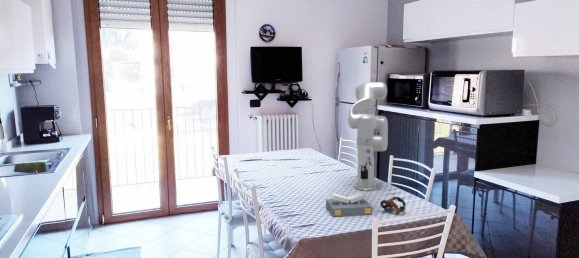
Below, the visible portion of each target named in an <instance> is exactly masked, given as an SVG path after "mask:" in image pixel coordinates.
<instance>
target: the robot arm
mask: <svg viewBox="0 0 579 258" xmlns="http://www.w3.org/2000/svg"><path fill="white" fill-rule="evenodd" d="M387 95H388V87H387V84H386V83H385V82H382V81H365V82H363V83H361V84H360V85H357V86H355V97H356V98H355V99H356V100H357V101H355V103H353V105H351V106H350V108H349V110H348V119H347V123H348V126H349V128H350V129H353V130H356V149H357V174H356V175H357V179H356V180H357V183H355V184H354V189H357V190H360V191H363V192H365V191H374V190H376V189H377V185H383V181H381V180H375V157H374V152H385V151H387V149H388V145H389V144H388V143H389V142H388V141H389V139H388V137H389V134H388V133H389V124H388V122H389V121H388V119H387V117H386V116H385V115H384V116H383V115H376V114H375V112H376V109H375V104H376V100H385V99H386V97H387ZM374 133H378V134H374Z"/></svg>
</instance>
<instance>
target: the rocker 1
mask: <svg viewBox="0 0 579 258" xmlns="http://www.w3.org/2000/svg"><path fill="white" fill-rule="evenodd" d="M330 197H331V199H333V200H337V201H341V202H344V203H348V204H349V201H350V199H349V198H348V196H344V195H342V194H337V193H334V192H332V193H331V195H330Z"/></svg>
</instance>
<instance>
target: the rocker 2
mask: <svg viewBox="0 0 579 258" xmlns="http://www.w3.org/2000/svg"><path fill="white" fill-rule="evenodd" d="M347 197H348V198H349V199H350V201H349V202H350V203H354V202H356V201H359V200H362V199H366V198H367V196H366V193H365V191H364V190H361V191H359V192H356V193H354V194H351V195H349V196H347Z"/></svg>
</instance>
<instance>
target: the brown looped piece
mask: <svg viewBox="0 0 579 258" xmlns="http://www.w3.org/2000/svg"><path fill="white" fill-rule="evenodd" d="M395 200H397V202H399V203H402V205H400V206H399V205H398V204H397V203H395ZM379 205H380V207H381V208H382V209H384V211H387V210H388V209H389V208H390V209H396V210H395V215H400V214H402V213H403V212H405V210H406V205H407V204H406V202H405V200H404V199H403V198H402V197H399V196H392V197H391V198H389V199H383V200H381V201H380V203H379Z"/></svg>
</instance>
